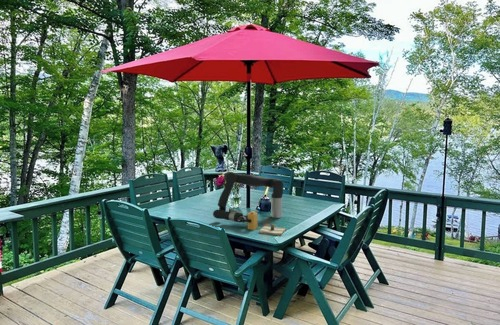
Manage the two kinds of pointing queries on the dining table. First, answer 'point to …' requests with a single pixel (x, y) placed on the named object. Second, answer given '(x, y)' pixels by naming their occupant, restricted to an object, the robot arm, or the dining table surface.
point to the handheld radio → (234, 210)
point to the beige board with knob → (272, 230)
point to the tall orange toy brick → (253, 220)
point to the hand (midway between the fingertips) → (253, 219)
